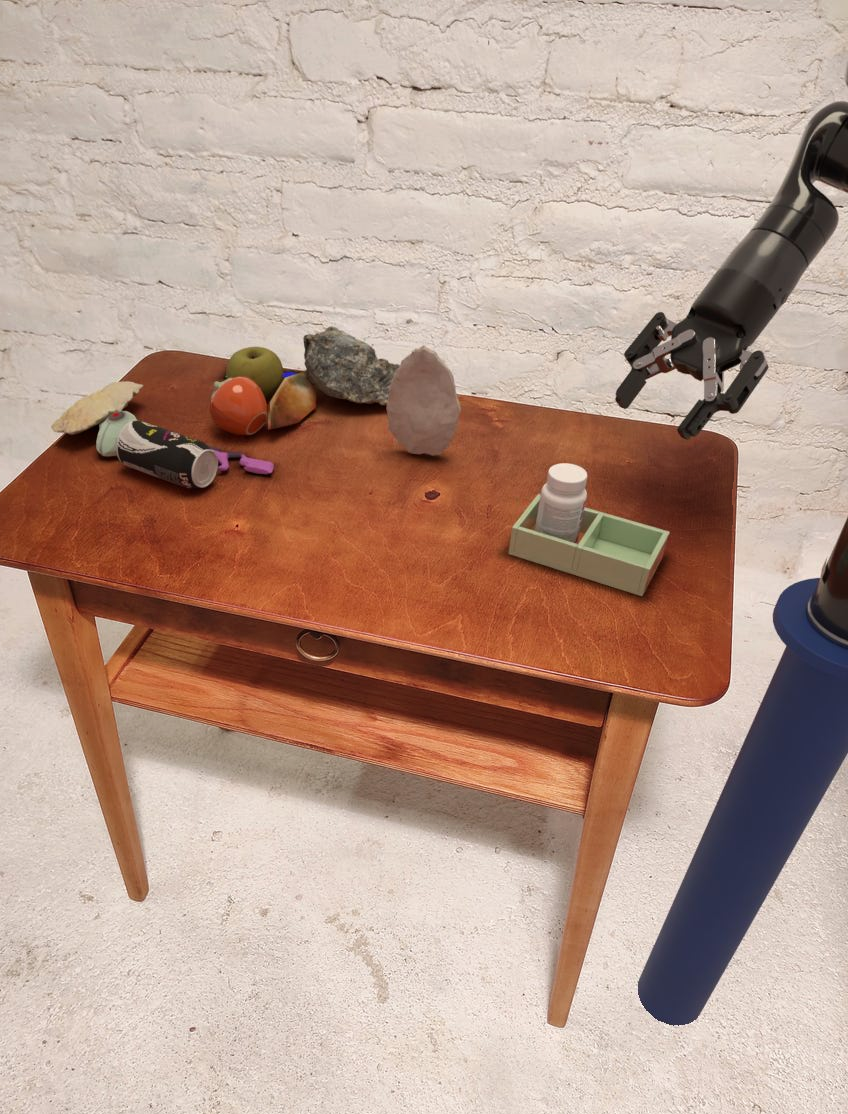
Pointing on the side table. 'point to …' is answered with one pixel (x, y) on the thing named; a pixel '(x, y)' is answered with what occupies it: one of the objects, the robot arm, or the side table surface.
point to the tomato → (238, 406)
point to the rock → (347, 367)
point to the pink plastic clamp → (242, 462)
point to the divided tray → (595, 549)
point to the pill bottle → (562, 502)
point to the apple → (257, 368)
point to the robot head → (112, 432)
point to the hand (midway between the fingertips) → (650, 419)
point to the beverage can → (166, 455)
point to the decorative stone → (291, 401)
